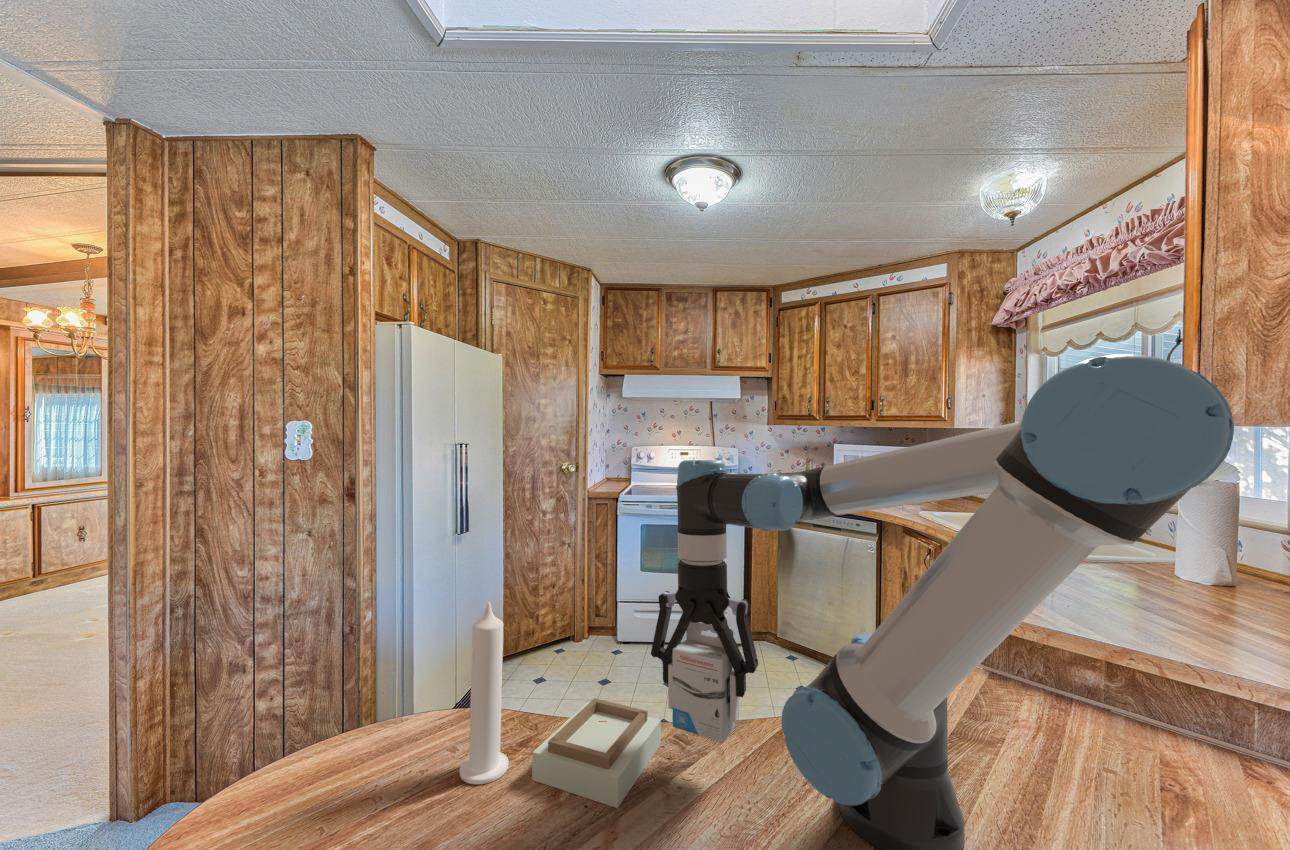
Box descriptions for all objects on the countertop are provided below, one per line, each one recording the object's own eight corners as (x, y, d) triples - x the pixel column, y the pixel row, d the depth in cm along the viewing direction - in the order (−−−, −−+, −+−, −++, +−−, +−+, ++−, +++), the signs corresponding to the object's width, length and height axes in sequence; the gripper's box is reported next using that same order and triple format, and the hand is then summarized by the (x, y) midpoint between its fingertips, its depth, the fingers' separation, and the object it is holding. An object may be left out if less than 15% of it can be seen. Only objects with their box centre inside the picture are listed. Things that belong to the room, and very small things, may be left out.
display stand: (660, 744, 83) (660, 710, 83) (617, 808, 68) (618, 766, 69) (586, 725, 89) (587, 693, 89) (532, 779, 74) (532, 741, 74)
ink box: (670, 727, 76) (670, 627, 77) (686, 713, 80) (685, 619, 81) (723, 744, 72) (721, 638, 73) (736, 728, 76) (735, 628, 77)
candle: (494, 788, 72) (498, 611, 73) (449, 781, 73) (454, 607, 74) (516, 758, 79) (520, 597, 80) (475, 752, 80) (479, 593, 81)
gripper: (777, 560, 77) (780, 713, 75) (647, 550, 85) (647, 687, 84) (769, 571, 70) (772, 739, 69) (628, 559, 78) (628, 708, 77)
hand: (703, 710), depth 76 cm, fingers closed on ink box, 9 cm apart
